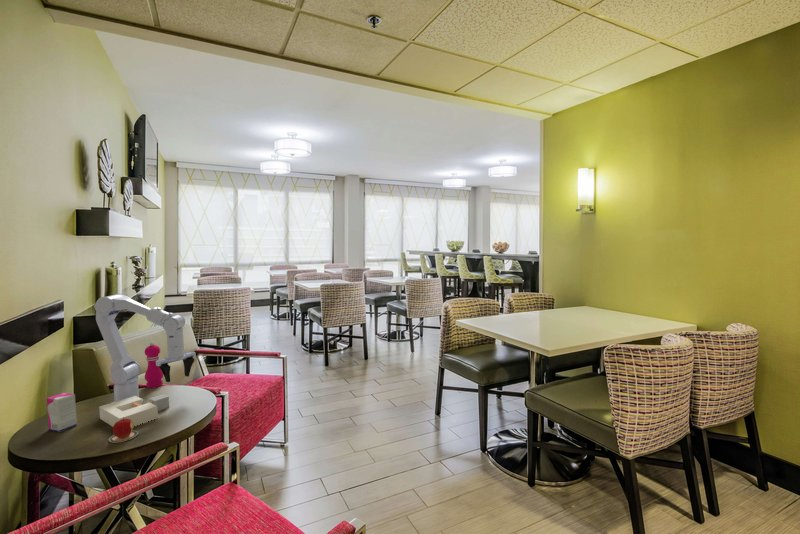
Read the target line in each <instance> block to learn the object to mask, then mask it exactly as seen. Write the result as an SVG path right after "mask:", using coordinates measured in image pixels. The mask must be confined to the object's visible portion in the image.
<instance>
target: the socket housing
mask: <svg viewBox="0 0 800 534" xmlns="http://www.w3.org/2000/svg"><path fill="white" fill-rule="evenodd" d="M143 400H144V399H143V398H141V397H140V396H139V397H137V396H133V397H130V398H126V399H123V400H120V401H116V402H114V401H112V402H113V403H112V402H110V403H107V404H104V405H100V406H99V407H98V409H99V410H98V411H99V419H100V420H102V422H104V423H106V424H108V425H109V426H110V427H112V428H113V426H114V424H115V423H116V422H117V421H119V420H122V419H123V417H124V419H130V420H132V422H133V425H134V426H135V427H137V425H138V426H140V424H141V425H143V424H147V423H149V422H152V421H154V419H155V420H157V419H159V414H158V412H159V411H157V406H156V405H154V404H152V403H149V402H147V403H143V402H144V401H143ZM135 402H136V403H138V404H140V406H137V407H134V408H133V403H135ZM151 420H152V421H151ZM148 421H149V422H148ZM142 423H143V424H142ZM134 426H133V428H135V427H134Z"/></svg>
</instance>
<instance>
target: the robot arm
mask: <svg viewBox="0 0 800 534" xmlns="http://www.w3.org/2000/svg"><path fill="white" fill-rule="evenodd" d="M93 307H94V309H95V321H96V324H97V326H98V330H99V331H100V334H101V336H102V338H103V341H104V343H105V345H106V347H107V350H108V353H109V356H110V358H111V359H112V363H111V366H110V368H109V370H110V371H111V373H110V375H111V376H110V379H111V381H112V382H113V383H114V385H113V394H114V395H113V396H114V398H113V399H114V401H112V402H111V403H113V402H116V401H120V400H123V399H126V398H130V397H133V396H137V397H139V398H140V391H139V376H140V375H141V372H142V367H141V364H139V362H137V361H136V358H135V357H133V356H131V355H129V352H128V350H127V347H126V345H125V342H124V340H123V338H122V336H121V333H120V331H119V328H118V326H117V323H116V320H115V319H116V317H117V316H118V314H119V313H121V311H123V310H127V311H130V312H133V313H136V314H139V315H141V316H144V317H145V318H146V320H147V321H148V322H151V323H153V324H155V325H158V326H160V327H162V328H163V330H164V331H165V334H166V346H167V348H166V349H167V357H164V358H161V359H160V358H159V360H157V361H156V366H158V367H159V368H160V369H161V371H162V373H163V377H164V380H165V382H166V383H171V365H169V364H171V363H176V362H179V361H182V362H183V367H184V377H190V374H191V369H192V366H193V364H194V363H195V358H197V356H196V354H197V353H196V352H195V351H190V352H185V343H184V330H183V329H184V328H183V327H184V326H185V324H186V320H185V318H184V316H183V315H181V314H179V313H176V314H174V313H173V312H168V311H165V310H163V308H162V307H152V308H151V307H148V306H146V305H145V304H142V303H140V302H138V301H136V300H134V299H132V298H131V297H129V296H127V295H124V294H122V293H115V294H113V295H112V294H111V295H108V296H101V297H99V298H98V299H97V300H96V302H95V303H94V305H93ZM142 400H143V402H144V399H142Z"/></svg>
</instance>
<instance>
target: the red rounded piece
mask: <svg viewBox="0 0 800 534" xmlns="http://www.w3.org/2000/svg"><path fill="white" fill-rule="evenodd" d="M133 426H134V425H133V422H132V420H130V419H124V417H123V419H122V420H119V421H117V422H116V423H115V424H114V426H113V427H112V433H113V434H112V436H110V437H109V438H108V441H109V442H110V443H113V444H114V443H115V444H116V443H117V444H118V443H123V442H127V441H129V440H132V439H134V438H135V437H137V436H138V435H139V432H138V431H137V430H134V427H133Z"/></svg>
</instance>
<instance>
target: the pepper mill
mask: <svg viewBox="0 0 800 534" xmlns="http://www.w3.org/2000/svg"><path fill="white" fill-rule="evenodd" d="M159 354H161V348H160V347H159V346H158V345H157V344H155V342H154V341H151V342H150V343H149V346H146V347H145V349H144V355H145V356H146V358H145V359H146V361H147V369H146V371H145V373H144V380H145V381H146V388H148V389H154V388H158V387H161V386H163V377H164V375H163V373H162V371H161V369H160V368H159V367H158V366H156V361H157V360H160V355H159Z"/></svg>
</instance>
